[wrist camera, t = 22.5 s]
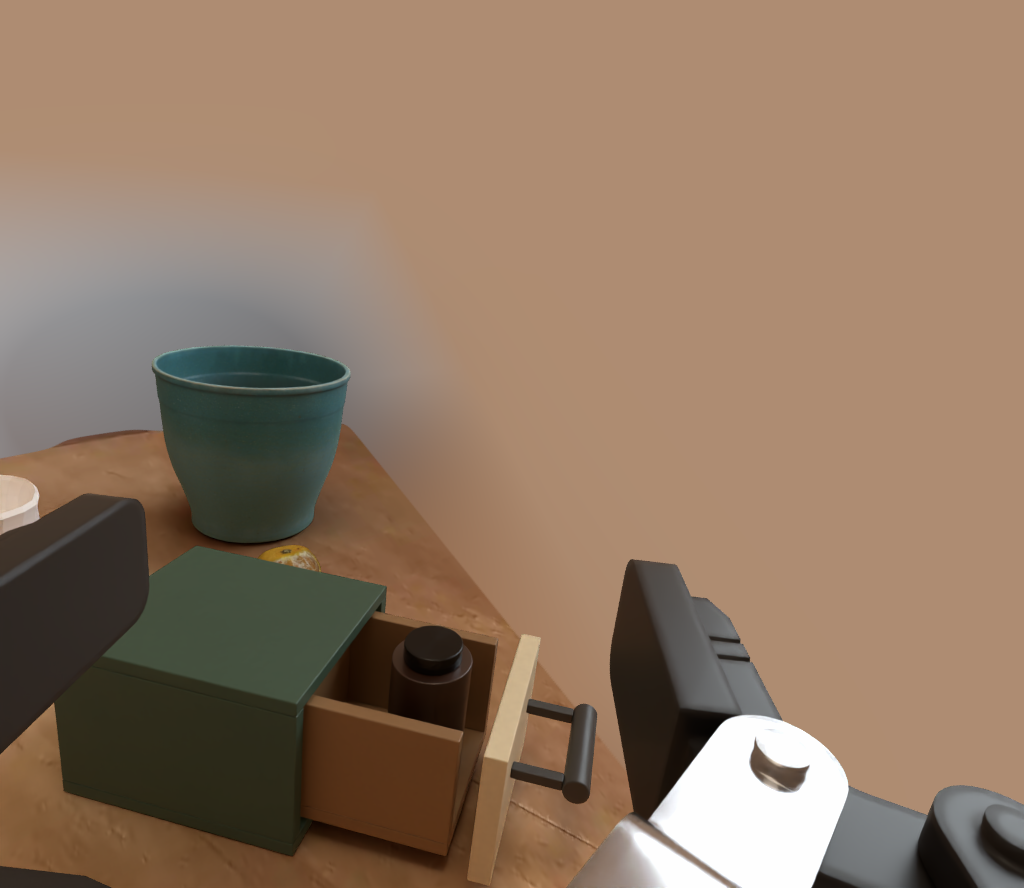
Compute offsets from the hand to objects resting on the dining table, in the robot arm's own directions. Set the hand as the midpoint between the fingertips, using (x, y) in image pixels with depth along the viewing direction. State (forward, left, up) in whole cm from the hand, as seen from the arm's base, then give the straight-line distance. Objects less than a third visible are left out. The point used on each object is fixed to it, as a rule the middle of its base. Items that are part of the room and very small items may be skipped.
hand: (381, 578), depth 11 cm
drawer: (+3, -20, -25) cm, 33 cm away
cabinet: (+16, -20, -26) cm, 37 cm away
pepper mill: (+4, -20, -24) cm, 32 cm away
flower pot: (+32, -48, -26) cm, 63 cm away
